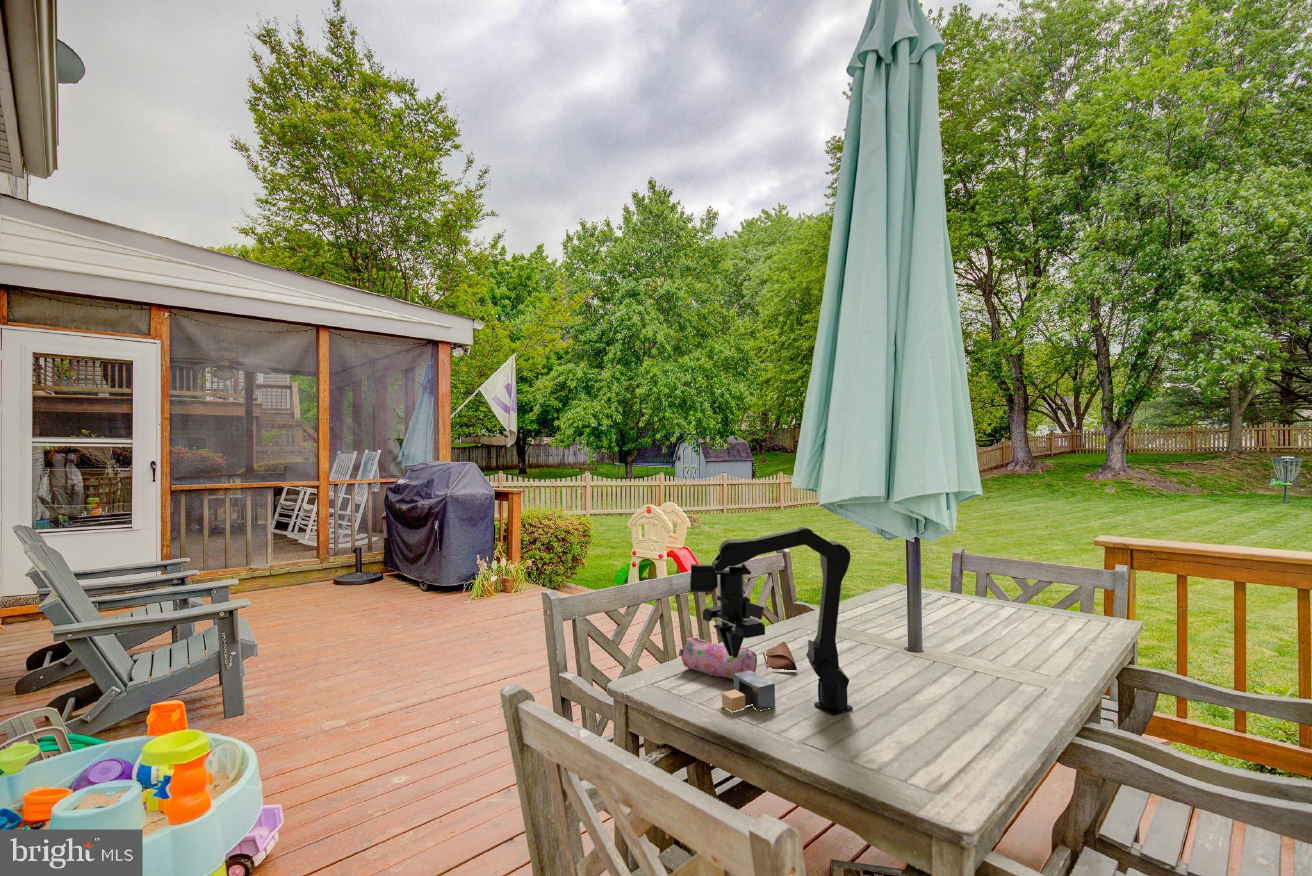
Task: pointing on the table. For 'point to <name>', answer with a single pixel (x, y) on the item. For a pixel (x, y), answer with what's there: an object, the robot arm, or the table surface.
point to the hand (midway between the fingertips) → (733, 656)
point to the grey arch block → (756, 689)
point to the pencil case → (716, 658)
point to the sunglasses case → (780, 657)
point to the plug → (737, 699)
